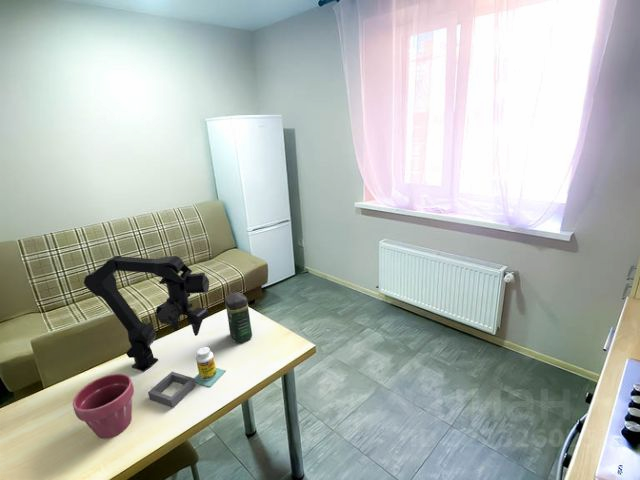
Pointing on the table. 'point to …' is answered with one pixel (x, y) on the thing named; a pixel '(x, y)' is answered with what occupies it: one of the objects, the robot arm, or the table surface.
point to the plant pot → (106, 405)
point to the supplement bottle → (206, 364)
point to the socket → (157, 390)
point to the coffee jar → (238, 317)
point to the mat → (210, 382)
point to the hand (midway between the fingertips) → (186, 332)
